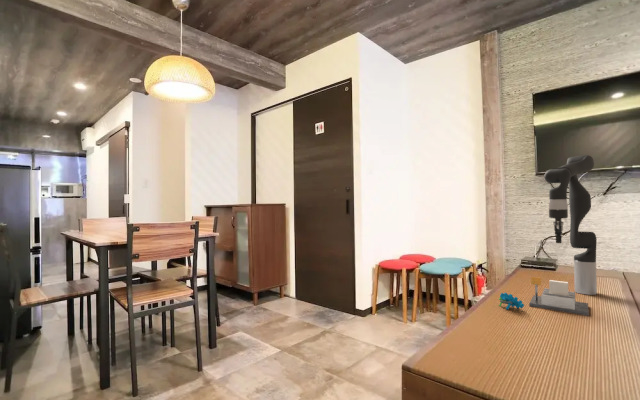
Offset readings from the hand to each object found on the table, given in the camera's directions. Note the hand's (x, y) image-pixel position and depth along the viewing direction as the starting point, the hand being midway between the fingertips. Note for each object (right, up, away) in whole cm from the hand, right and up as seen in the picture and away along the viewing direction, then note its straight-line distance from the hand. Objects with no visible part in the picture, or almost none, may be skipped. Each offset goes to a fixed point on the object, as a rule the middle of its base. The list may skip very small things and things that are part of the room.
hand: (558, 243), depth 158 cm
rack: (-8, -28, -10) cm, 31 cm away
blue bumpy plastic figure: (-32, -29, -13) cm, 45 cm away
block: (-8, -27, -10) cm, 30 cm away
